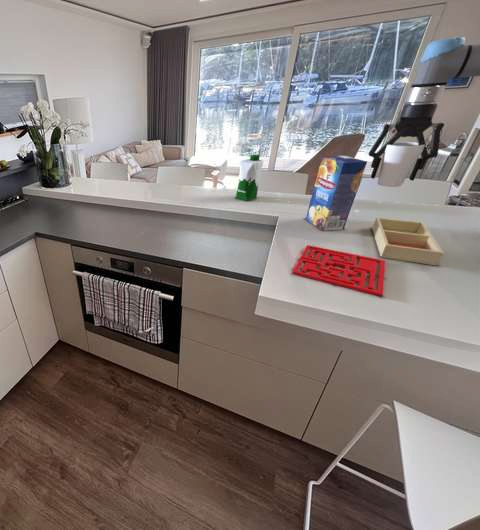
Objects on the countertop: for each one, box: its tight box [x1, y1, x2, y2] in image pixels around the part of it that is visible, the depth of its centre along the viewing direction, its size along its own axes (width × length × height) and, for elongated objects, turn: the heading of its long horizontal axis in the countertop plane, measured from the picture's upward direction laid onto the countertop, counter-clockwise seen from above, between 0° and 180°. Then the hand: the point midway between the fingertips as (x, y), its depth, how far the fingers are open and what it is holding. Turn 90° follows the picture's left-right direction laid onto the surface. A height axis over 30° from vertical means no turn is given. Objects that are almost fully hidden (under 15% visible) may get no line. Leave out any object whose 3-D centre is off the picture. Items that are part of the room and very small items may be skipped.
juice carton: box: [305, 154, 368, 231], centre depth 105 cm, size 12×8×24 cm, turn 179°
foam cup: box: [376, 141, 425, 188], centre depth 95 cm, size 10×9×13 cm
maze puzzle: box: [292, 244, 386, 297], centre depth 83 cm, size 20×20×1 cm
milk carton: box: [235, 154, 265, 202], centre depth 138 cm, size 9×9×20 cm
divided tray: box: [371, 217, 444, 266], centre depth 92 cm, size 12×24×4 cm, turn 148°
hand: (391, 178), depth 97 cm, fingers closed on foam cup, 9 cm apart
